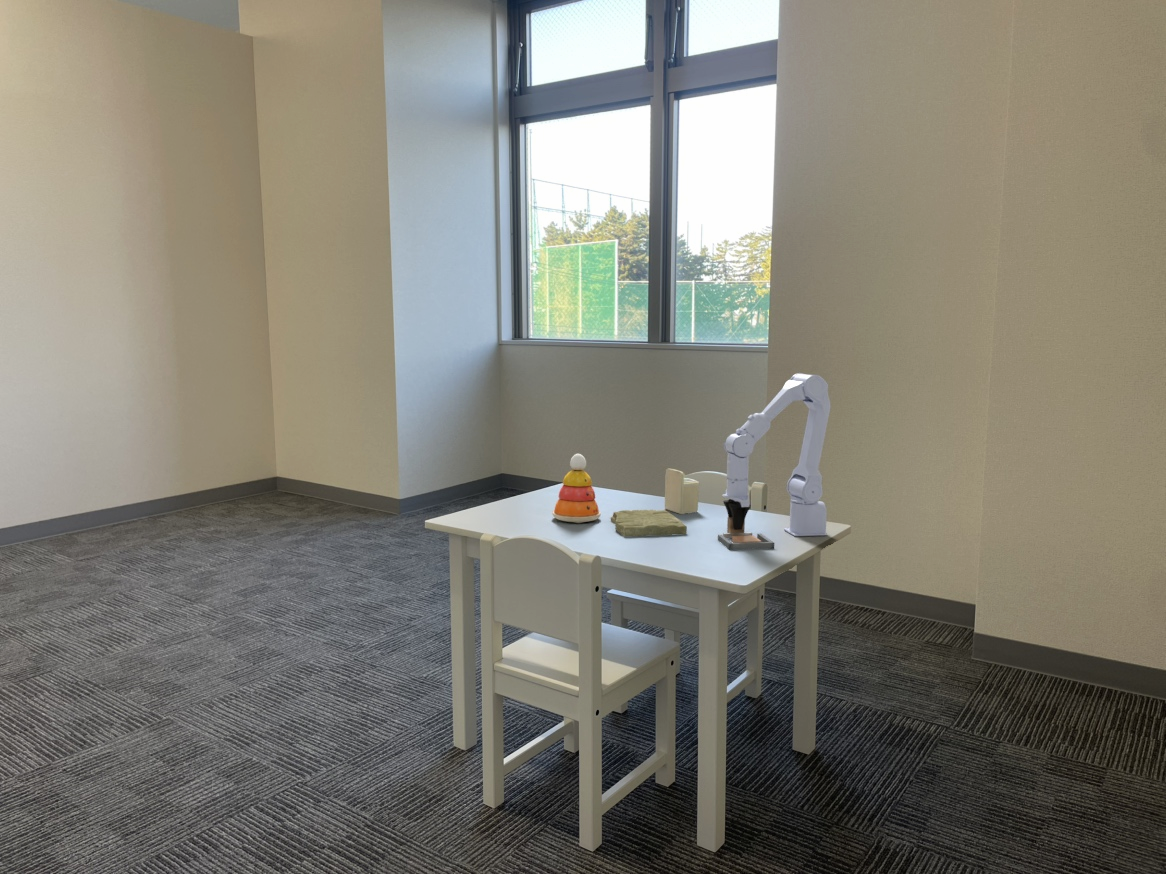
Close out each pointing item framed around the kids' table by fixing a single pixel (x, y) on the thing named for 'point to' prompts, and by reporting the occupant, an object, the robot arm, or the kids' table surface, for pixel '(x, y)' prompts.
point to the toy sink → (680, 492)
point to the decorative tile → (647, 523)
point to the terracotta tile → (745, 539)
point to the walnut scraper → (733, 532)
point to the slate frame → (764, 544)
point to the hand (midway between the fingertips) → (736, 527)
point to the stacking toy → (577, 495)
